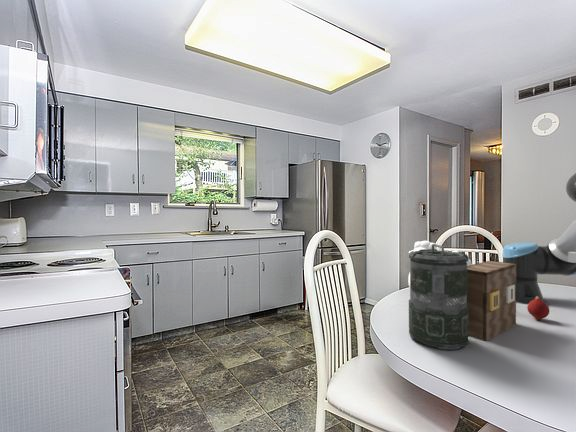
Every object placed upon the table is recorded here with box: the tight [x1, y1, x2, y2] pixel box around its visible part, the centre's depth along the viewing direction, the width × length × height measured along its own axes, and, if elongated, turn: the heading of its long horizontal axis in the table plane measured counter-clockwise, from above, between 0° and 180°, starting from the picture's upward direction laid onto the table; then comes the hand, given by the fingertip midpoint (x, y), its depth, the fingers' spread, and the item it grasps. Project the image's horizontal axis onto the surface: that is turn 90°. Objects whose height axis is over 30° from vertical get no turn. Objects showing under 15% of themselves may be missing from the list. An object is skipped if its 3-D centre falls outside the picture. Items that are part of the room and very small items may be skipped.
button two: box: [490, 290, 499, 311], centre depth 93 cm, size 5×5×5 cm
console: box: [467, 260, 517, 342], centre depth 98 cm, size 22×8×20 cm, turn 125°
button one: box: [506, 284, 515, 303], centre depth 100 cm, size 5×5×5 cm
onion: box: [526, 297, 550, 321], centre depth 105 cm, size 6×6×8 cm
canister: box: [408, 243, 470, 351], centre depth 90 cm, size 16×16×28 cm
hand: (569, 256), depth 86 cm, fingers closed
